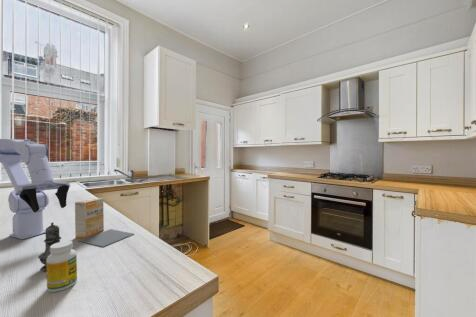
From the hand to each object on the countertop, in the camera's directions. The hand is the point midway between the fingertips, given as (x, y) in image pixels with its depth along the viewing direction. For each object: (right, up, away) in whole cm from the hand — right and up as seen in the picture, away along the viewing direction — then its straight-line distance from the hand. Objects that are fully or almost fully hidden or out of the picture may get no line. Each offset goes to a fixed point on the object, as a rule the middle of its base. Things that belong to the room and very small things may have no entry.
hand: (50, 208), depth 72 cm
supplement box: (+7, -12, +9) cm, 17 cm away
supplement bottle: (+23, -12, -23) cm, 35 cm away
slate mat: (+16, -12, +5) cm, 20 cm away
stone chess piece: (+14, -12, -15) cm, 23 cm away
